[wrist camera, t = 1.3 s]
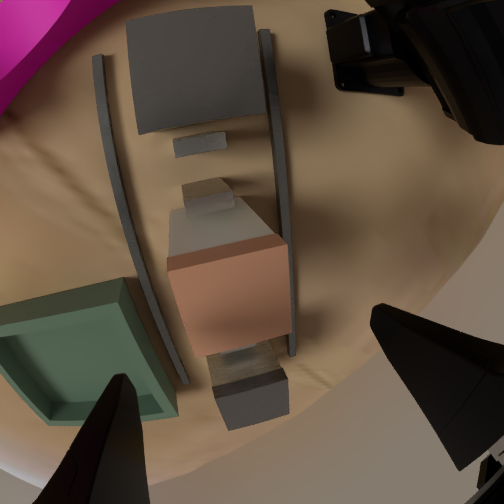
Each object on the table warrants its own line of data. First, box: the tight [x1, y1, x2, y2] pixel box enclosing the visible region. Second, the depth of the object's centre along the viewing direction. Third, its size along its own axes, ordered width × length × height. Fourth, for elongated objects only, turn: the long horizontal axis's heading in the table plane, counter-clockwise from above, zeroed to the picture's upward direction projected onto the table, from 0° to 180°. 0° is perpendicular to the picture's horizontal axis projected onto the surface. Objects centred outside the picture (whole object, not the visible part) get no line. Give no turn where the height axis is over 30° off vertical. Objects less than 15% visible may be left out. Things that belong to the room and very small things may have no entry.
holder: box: [92, 6, 296, 431], centre depth 15 cm, size 11×26×7 cm, turn 7°
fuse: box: [167, 196, 292, 358], centre depth 15 cm, size 5×5×8 cm
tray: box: [0, 277, 179, 426], centre depth 18 cm, size 15×13×3 cm
